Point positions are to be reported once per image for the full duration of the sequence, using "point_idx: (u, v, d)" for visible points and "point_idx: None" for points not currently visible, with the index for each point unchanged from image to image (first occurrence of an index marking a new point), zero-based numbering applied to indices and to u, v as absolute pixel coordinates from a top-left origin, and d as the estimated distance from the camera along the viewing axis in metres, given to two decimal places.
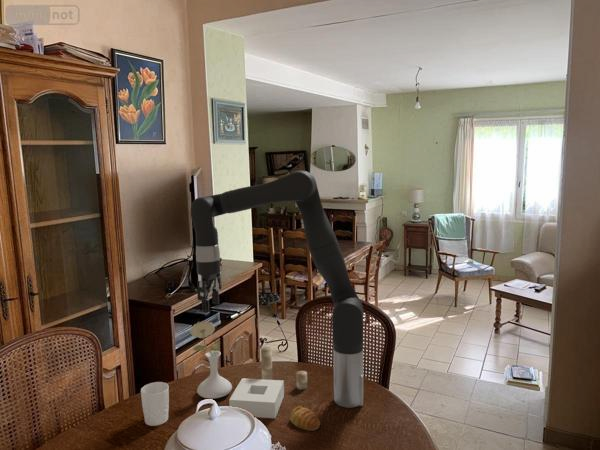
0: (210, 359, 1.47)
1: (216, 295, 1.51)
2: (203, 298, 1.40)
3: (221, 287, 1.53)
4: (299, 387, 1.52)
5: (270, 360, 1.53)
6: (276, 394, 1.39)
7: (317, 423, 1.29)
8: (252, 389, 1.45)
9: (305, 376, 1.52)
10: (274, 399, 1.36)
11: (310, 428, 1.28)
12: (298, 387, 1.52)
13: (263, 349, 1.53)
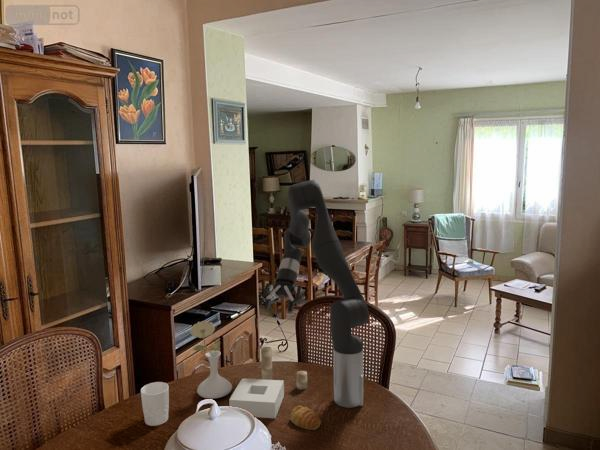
0: (210, 359, 1.47)
1: None
2: None
3: (297, 298, 1.63)
4: (299, 387, 1.52)
5: (270, 360, 1.53)
6: (276, 394, 1.39)
7: (317, 422, 1.29)
8: (252, 389, 1.45)
9: (305, 376, 1.52)
10: (274, 399, 1.36)
11: (311, 427, 1.28)
12: (298, 387, 1.52)
13: (263, 349, 1.53)
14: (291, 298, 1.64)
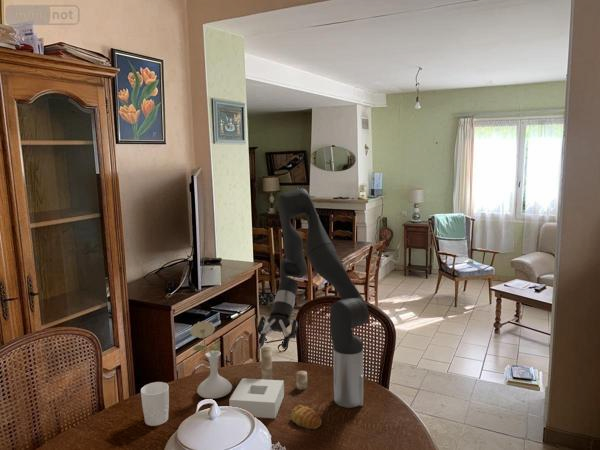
0: (210, 359, 1.47)
1: None
2: None
3: (292, 333, 1.58)
4: (299, 387, 1.52)
5: (270, 360, 1.53)
6: (276, 394, 1.39)
7: (318, 421, 1.30)
8: (252, 389, 1.45)
9: (305, 376, 1.52)
10: (274, 399, 1.36)
11: (312, 426, 1.29)
12: (298, 387, 1.52)
13: (263, 349, 1.53)
14: (286, 333, 1.59)
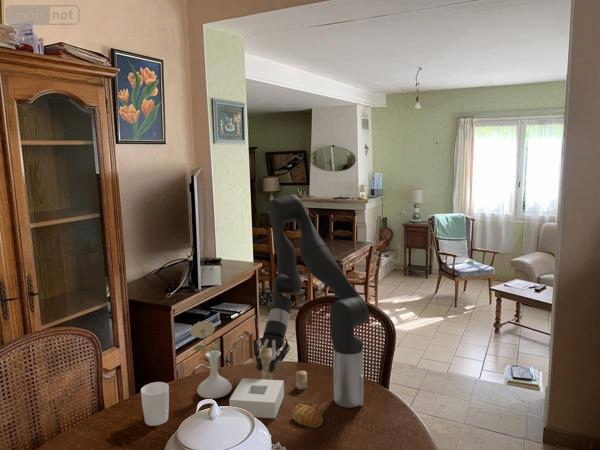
0: (210, 359, 1.47)
1: None
2: None
3: (279, 356, 1.53)
4: (300, 387, 1.52)
5: (270, 360, 1.53)
6: (276, 394, 1.39)
7: (320, 419, 1.30)
8: (252, 389, 1.45)
9: (305, 376, 1.52)
10: (274, 399, 1.36)
11: (314, 425, 1.29)
12: (299, 387, 1.52)
13: (263, 349, 1.53)
14: (273, 356, 1.54)
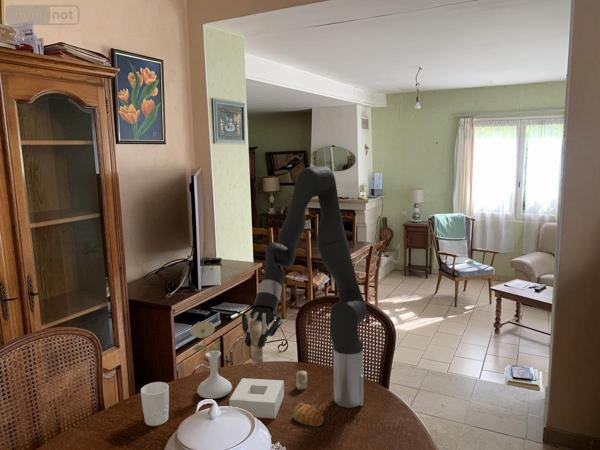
0: (210, 359, 1.47)
1: None
2: None
3: (269, 330, 1.39)
4: (301, 387, 1.52)
5: (260, 334, 1.39)
6: (276, 394, 1.39)
7: (321, 418, 1.31)
8: (252, 389, 1.45)
9: (306, 376, 1.52)
10: (274, 399, 1.36)
11: (315, 424, 1.30)
12: (299, 387, 1.52)
13: (252, 322, 1.39)
14: (263, 330, 1.40)
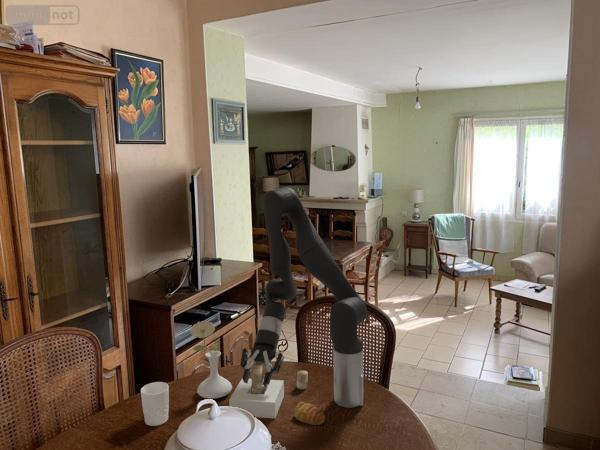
0: (210, 359, 1.47)
1: None
2: None
3: (274, 368, 1.40)
4: (302, 387, 1.52)
5: (261, 378, 1.40)
6: (276, 394, 1.39)
7: (322, 417, 1.32)
8: None
9: (307, 375, 1.53)
10: (274, 399, 1.36)
11: (316, 422, 1.31)
12: (301, 387, 1.52)
13: (253, 366, 1.40)
14: (268, 368, 1.41)
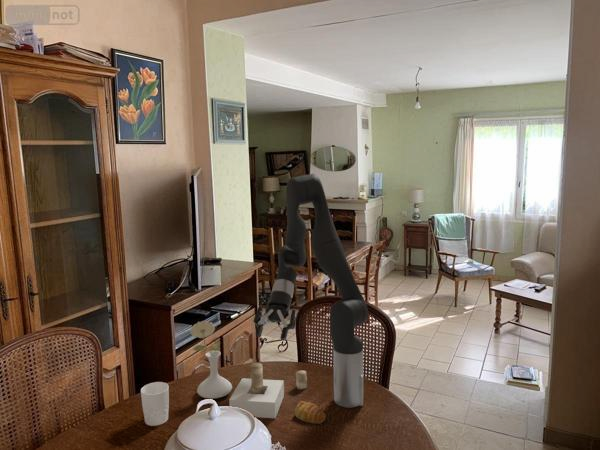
0: (210, 359, 1.47)
1: None
2: None
3: (291, 324, 1.50)
4: (303, 387, 1.52)
5: (261, 378, 1.40)
6: (276, 394, 1.39)
7: (323, 415, 1.32)
8: None
9: None
10: (274, 399, 1.36)
11: (317, 421, 1.31)
12: (302, 387, 1.52)
13: (253, 366, 1.41)
14: (284, 324, 1.51)
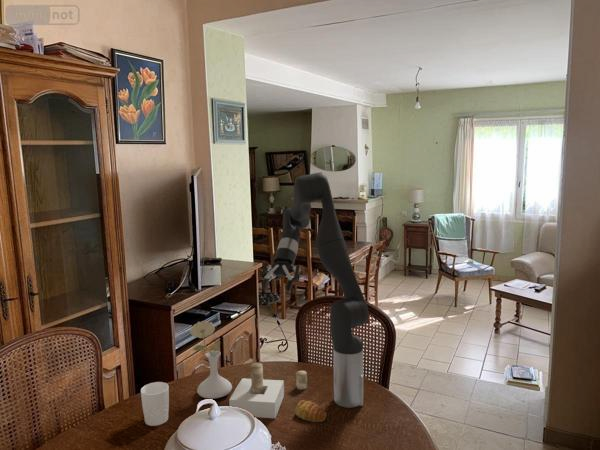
0: (210, 359, 1.47)
1: None
2: None
3: (295, 277, 1.60)
4: (305, 387, 1.52)
5: (261, 378, 1.40)
6: (276, 394, 1.39)
7: (324, 414, 1.33)
8: None
9: None
10: (274, 399, 1.36)
11: (318, 419, 1.32)
12: (303, 387, 1.52)
13: (253, 366, 1.41)
14: (289, 277, 1.61)
